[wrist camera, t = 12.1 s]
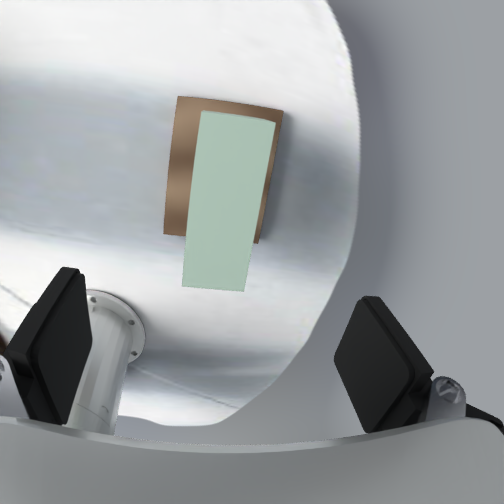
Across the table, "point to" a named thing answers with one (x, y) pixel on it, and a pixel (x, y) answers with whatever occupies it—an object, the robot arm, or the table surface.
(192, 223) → the mint green rectangular block
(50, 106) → the table surface
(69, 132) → the table surface
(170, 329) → the table surface
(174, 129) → the peg stand
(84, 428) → the robot arm
